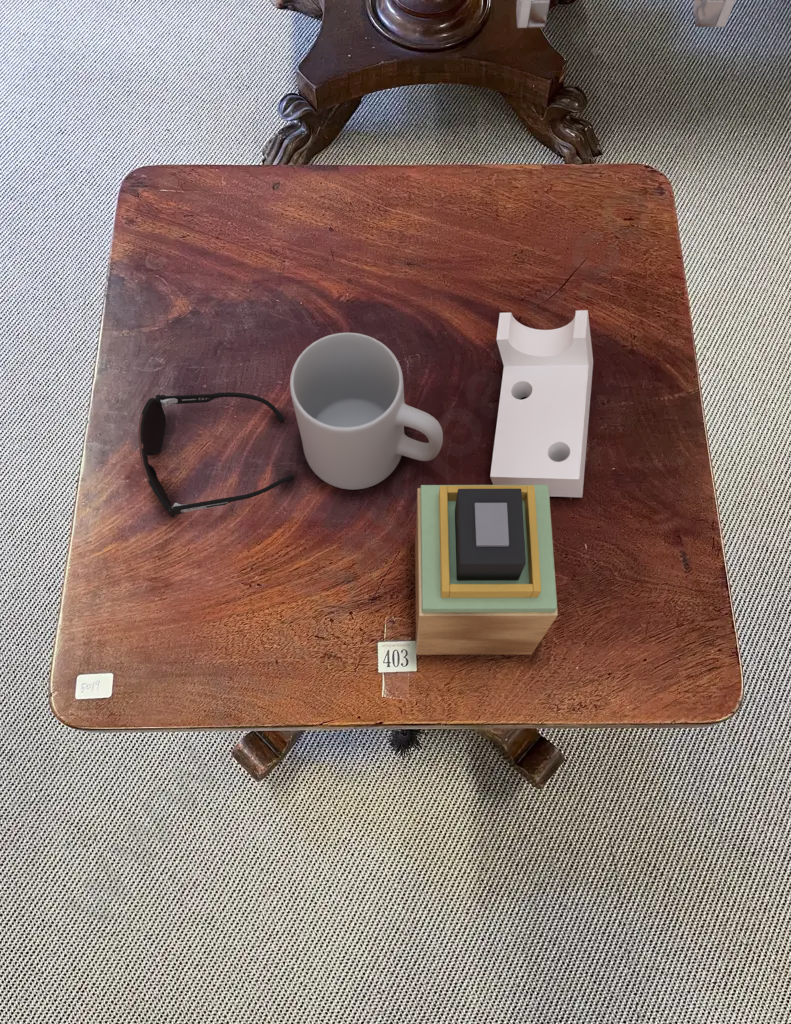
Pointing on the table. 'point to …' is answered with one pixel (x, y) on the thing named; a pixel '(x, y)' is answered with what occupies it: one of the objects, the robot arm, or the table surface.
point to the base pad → (485, 595)
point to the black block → (489, 534)
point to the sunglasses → (153, 439)
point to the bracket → (543, 405)
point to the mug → (356, 411)
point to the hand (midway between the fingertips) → (618, 19)
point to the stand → (474, 623)
